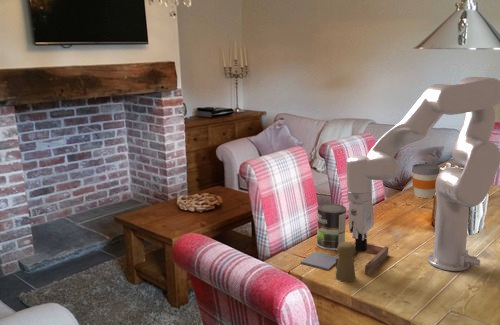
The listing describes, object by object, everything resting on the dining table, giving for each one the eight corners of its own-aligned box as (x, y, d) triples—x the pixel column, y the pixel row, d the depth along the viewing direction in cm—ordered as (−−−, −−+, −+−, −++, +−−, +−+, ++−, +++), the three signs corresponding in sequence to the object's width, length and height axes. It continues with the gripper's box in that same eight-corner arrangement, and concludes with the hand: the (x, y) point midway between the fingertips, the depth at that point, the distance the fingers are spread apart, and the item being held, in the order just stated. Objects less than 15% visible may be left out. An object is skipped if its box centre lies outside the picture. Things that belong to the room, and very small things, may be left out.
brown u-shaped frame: (388, 255, 156) (388, 247, 155) (368, 275, 141) (368, 266, 140) (357, 248, 162) (357, 240, 161) (335, 267, 147) (335, 258, 147)
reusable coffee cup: (418, 191, 232) (420, 162, 228) (442, 196, 222) (444, 166, 219) (405, 196, 224) (407, 166, 220) (429, 201, 214) (431, 170, 211)
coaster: (341, 259, 153) (341, 257, 153) (328, 270, 145) (328, 268, 145) (314, 252, 159) (314, 251, 159) (300, 263, 151) (300, 261, 151)
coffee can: (325, 252, 159) (326, 213, 156) (311, 241, 169) (312, 205, 166) (351, 247, 163) (352, 209, 160) (335, 237, 172) (336, 202, 169)
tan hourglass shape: (353, 272, 143) (353, 239, 141) (357, 281, 137) (358, 247, 135) (334, 272, 143) (334, 240, 141) (337, 282, 137) (337, 247, 135)
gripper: (362, 204, 134) (363, 261, 138) (379, 190, 146) (380, 244, 150) (338, 201, 138) (340, 257, 142) (357, 188, 150) (359, 240, 154)
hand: (361, 250), depth 146 cm, fingers closed
